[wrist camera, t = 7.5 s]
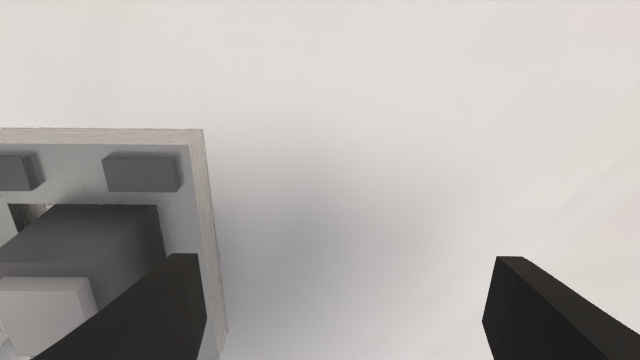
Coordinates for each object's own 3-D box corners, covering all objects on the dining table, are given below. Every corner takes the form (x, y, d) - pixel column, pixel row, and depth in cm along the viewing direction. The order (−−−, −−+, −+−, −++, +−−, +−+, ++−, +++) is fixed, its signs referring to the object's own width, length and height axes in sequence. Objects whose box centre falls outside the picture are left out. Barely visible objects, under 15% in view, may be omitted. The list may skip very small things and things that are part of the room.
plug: (169, 273, 22) (117, 368, 16) (86, 273, 22) (5, 367, 16) (155, 198, 20) (89, 277, 14) (63, 198, 20) (-37, 276, 14)
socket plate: (227, 331, 23) (216, 367, 21) (53, 329, 23) (24, 365, 21) (202, 129, 18) (184, 149, 16) (-20, 128, 18) (-69, 147, 16)
